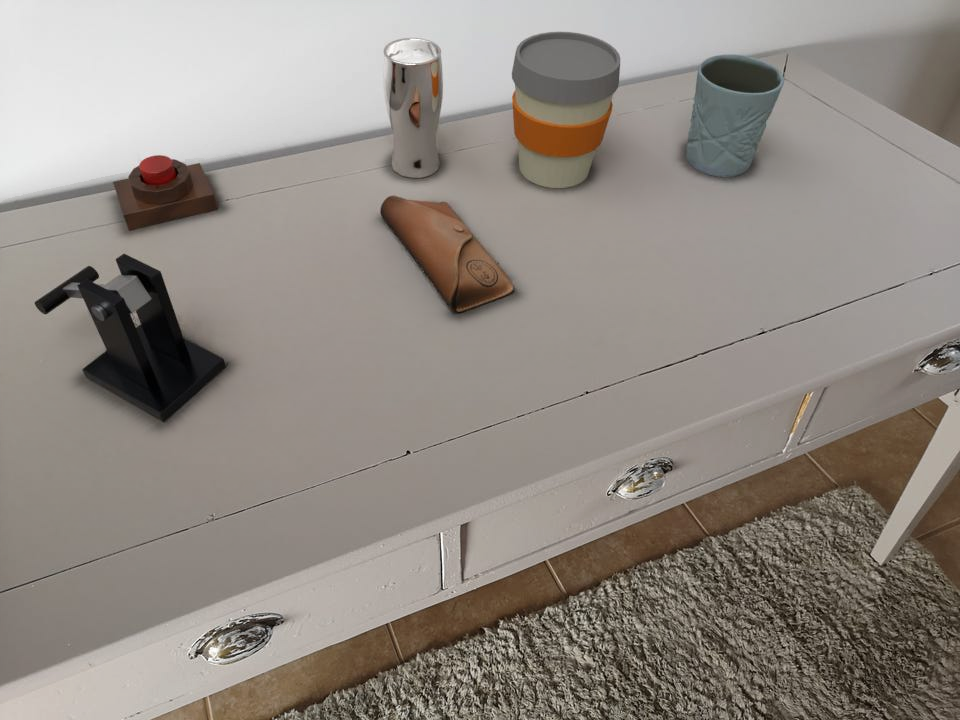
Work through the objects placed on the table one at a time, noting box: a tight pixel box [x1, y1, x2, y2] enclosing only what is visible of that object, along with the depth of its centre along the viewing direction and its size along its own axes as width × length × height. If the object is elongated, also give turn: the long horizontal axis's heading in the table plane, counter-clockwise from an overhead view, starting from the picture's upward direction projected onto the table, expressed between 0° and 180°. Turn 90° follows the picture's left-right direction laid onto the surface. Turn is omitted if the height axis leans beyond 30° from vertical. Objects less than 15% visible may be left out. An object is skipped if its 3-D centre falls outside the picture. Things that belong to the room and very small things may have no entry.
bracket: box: [77, 253, 227, 422], centre depth 69 cm, size 10×8×12 cm
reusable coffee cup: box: [511, 31, 621, 189], centre depth 94 cm, size 13×12×15 cm
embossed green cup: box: [685, 54, 785, 178], centre depth 98 cm, size 10×10×12 cm
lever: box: [34, 265, 152, 315], centre depth 69 cm, size 12×6×2 cm, turn 60°
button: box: [138, 154, 176, 185], centre depth 88 cm, size 4×4×2 cm
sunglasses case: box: [379, 194, 515, 313], centre depth 86 cm, size 18×7×7 cm
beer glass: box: [382, 37, 444, 179], centre depth 93 cm, size 7×7×15 cm
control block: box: [112, 158, 219, 231], centre depth 90 cm, size 10×7×4 cm
